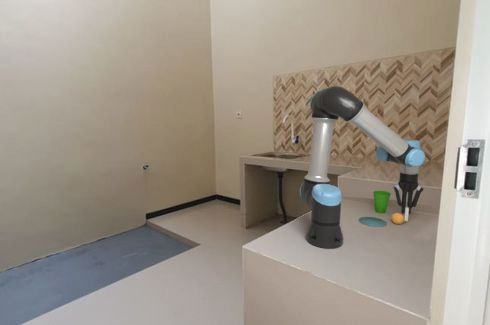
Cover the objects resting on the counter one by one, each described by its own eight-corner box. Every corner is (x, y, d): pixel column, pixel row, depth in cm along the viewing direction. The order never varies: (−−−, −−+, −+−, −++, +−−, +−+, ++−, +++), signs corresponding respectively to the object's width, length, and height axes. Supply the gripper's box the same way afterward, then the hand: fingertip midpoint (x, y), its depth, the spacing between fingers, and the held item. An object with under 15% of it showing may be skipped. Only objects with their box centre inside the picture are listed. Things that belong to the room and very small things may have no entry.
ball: (398, 228, 133) (390, 219, 133) (395, 224, 138) (387, 216, 138) (408, 221, 131) (400, 212, 132) (404, 217, 137) (396, 209, 137)
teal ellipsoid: (360, 225, 133) (360, 225, 133) (357, 216, 146) (357, 215, 146) (390, 228, 130) (390, 227, 130) (383, 218, 143) (383, 218, 143)
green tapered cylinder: (391, 215, 147) (393, 195, 146) (373, 214, 149) (375, 194, 147) (386, 209, 156) (388, 191, 154) (369, 208, 158) (371, 190, 156)
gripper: (421, 171, 132) (417, 218, 136) (391, 170, 136) (388, 216, 139) (427, 174, 125) (423, 223, 129) (396, 173, 128) (392, 221, 132)
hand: (405, 219), depth 134 cm, fingers closed
